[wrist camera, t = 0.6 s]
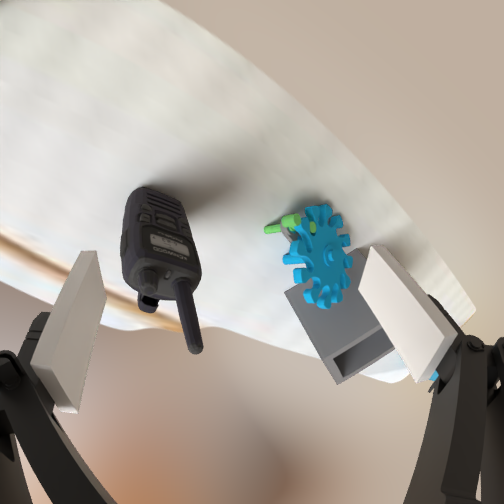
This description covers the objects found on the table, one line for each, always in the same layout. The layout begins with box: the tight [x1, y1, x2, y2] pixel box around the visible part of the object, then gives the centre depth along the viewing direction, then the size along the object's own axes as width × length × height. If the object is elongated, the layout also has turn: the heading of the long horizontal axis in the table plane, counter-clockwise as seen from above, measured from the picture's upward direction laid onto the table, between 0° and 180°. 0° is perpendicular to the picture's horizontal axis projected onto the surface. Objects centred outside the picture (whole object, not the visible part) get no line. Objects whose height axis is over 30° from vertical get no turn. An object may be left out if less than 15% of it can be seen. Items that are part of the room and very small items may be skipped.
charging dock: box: [284, 249, 395, 385], centre depth 35 cm, size 8×10×10 cm
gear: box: [264, 204, 353, 309], centre depth 31 cm, size 11×6×10 cm
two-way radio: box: [120, 187, 203, 354], centre depth 20 cm, size 6×4×15 cm
